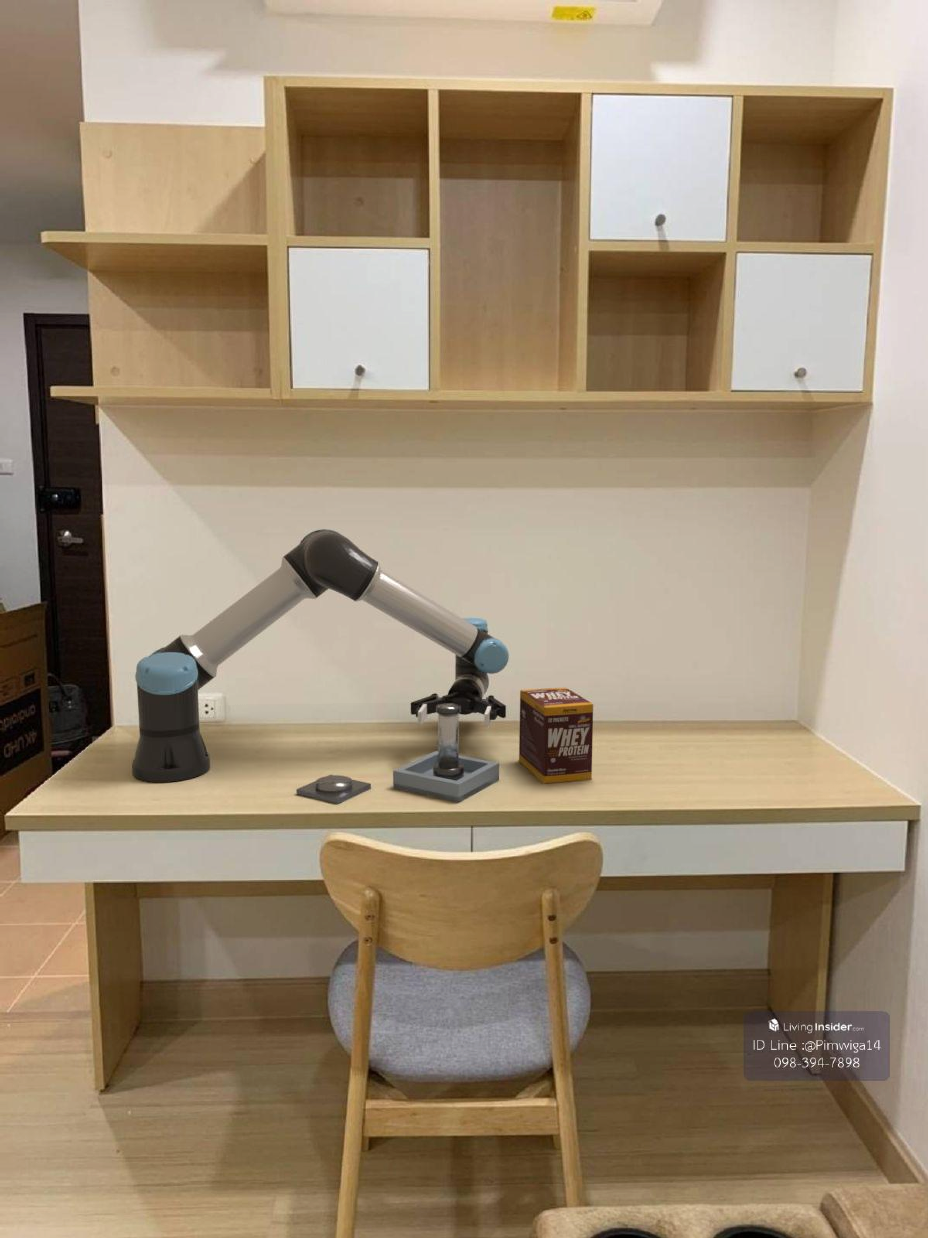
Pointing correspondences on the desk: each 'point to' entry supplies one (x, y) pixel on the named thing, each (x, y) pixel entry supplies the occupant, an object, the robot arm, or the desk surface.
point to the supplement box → (556, 734)
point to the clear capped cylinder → (448, 743)
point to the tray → (423, 782)
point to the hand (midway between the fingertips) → (452, 719)
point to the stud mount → (333, 788)
